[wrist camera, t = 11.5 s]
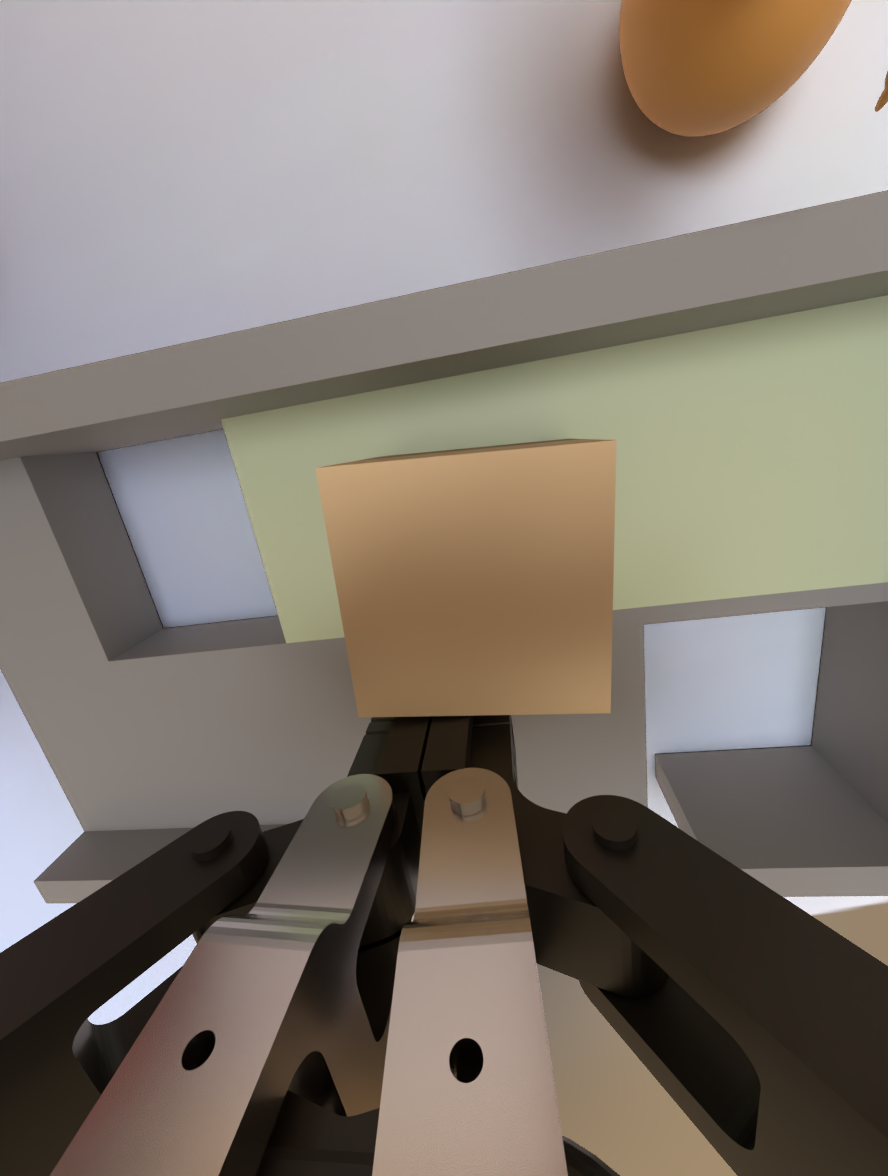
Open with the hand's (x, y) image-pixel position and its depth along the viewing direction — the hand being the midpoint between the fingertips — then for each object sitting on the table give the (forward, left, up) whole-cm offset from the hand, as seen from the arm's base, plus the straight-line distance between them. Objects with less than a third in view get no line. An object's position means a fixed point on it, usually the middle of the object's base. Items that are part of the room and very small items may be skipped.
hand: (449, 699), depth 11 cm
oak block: (-3, +1, -2) cm, 4 cm away
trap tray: (-1, -1, -5) cm, 5 cm away
